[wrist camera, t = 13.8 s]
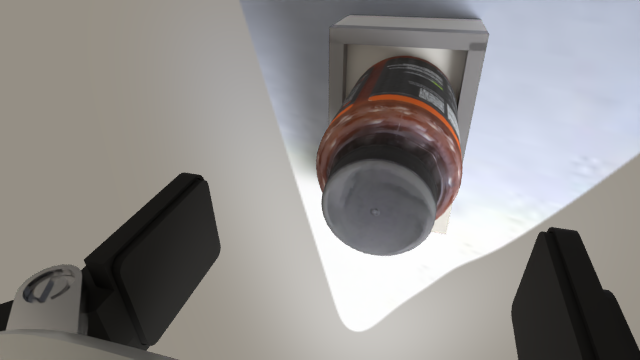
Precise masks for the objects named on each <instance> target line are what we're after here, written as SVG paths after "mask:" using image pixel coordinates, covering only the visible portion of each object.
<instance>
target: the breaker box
mask: <svg viewBox="0 0 640 360" xmlns="http://www.w3.org/2000/svg"><path fill="white" fill-rule="evenodd" d="M488 37H489V33H488V31H487V29H486V28H485V26H484V24H483V22H482V20H478V19H449V18H421V17H392V16H363V15H348V16H347V17H345V18H343V19H342V20H340V21H339V22H337V23H336V24H334V25H333V26H331V27H329V125H330V124H331V122H332V120H333V119H334V117H335V115H336V114H337V112H338V111H339V109H340V108H341V106H342V105H343V103H344V101H345V100H346V98H347V97H348V95H349V94H350V92H351V90H352V89H353V87H354V86H355V84H356V83H357V81H358V80H359V78H360V77H361V76H362V75H363V74H364V73H365V72H366V71H367V70H368V69H369V68H370V67H371V66H373V65H374V64H376V63H378V62H380V61H382V60H384V59H387V58H391V57H395V56H413V57H418V58H421V59H424V60H426V61H429V62H430V63H432V64H433V65H435V66H437V67H438V68H439V69H440V70H441V71H442V72H443V73H444V74H445V75H446V77H447V78H448V79H449V82H450V83H451V86H452V88H453V91H454V95H455V99H456V106H457V116H458V126H459V136H460V145H461V156H462V163H463V158H464V154H465V149H466V144H467V139H468V134H469V129H470V124H471V120H472V115H473V110H474V105H475V100H476V95H477V91H478V86H479V81H480V76H481V71H482V66H483V61H484V57H485V52H486V47H487V42H488ZM451 207H452V204H451V205H450V206H449V208H448V209H447V210H446V212H445V213H444V214H443V215H442V216H440V217H439V218H438V219H437V220H435V222H434V226H433V228H432V230H431V232H435V233H441V234H446V232H447V227H448V222H449V217H450V212H451Z"/></svg>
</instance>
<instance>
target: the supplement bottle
mask: <svg viewBox="0 0 640 360" xmlns="http://www.w3.org/2000/svg"><path fill="white" fill-rule="evenodd" d="M316 170H317V177H318V181H319V185H320V188H321V190H322V192H323V194H322V211H323V215H324V218H325V220H326V222H327V225H328V226H329V227H330V229H331V231H332V232H333V233H334V234H335V236H337V237H338V238H339V239H340V240H341V241H342V242H344V243H345V244H346V245H348V246H350V247H351V248H354V249H356V250H358V251H361V252H363V253H366V254H371V255H380V256H391V255H397V254H401V253H404V252H406V251H410V250H412V249H414V248H415V247H417V246H418V245H420V244H421V243H422V242H423V241H424V240H425V239H426V238H427V237H428V235H429V234H430V232H431V230H432V228H433V226H434V222H435V220H437V219H438V218H439V217H440V216H442V215H443V214H444V213H445V212H446V210H447V209H448V208H449V206H450V205H451V204H452V202H453V201H454V199H455V197H456V196H457V193H458V190H459V188H460V185H461V178H462V156H461V145H460V136H459V126H458V116H457V106H456V99H455V95H454V91H453V88H452V86H451V83H450V82H449V79H448V78H447V77H446V75H445V74H444V73H443V72H442V71H441V70H440V69H439V68H438V67H437V66H435V65H433V64H432V63H430V62H429V61H426V60H424V59H421V58H418V57H413V56H395V57H391V58H387V59H384V60H382V61H380V62H378V63H376V64H374V65H373V66H371V67H370V68H369V69H368V70H367V71H366V72H365V73H364V74H363V75H362V76H361V77H360V78H359V80H358V81H357V83H356V84H355V86H354V87H353V89H352V90H351V92H350V94H349V95H348V97H347V98H346V100H345V101H344V103H343V105H342V106H341V108H340V109H339V111H338V112H337V114H336V115H335V117H334V119H333V120H332V122H331V124H330V125H329V127H328V129H327V130H326V132H325V134H324V136H323V138H322V140H321V143H320V146H319V149H318V152H317V159H316Z"/></svg>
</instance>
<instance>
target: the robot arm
mask: <svg viewBox="0 0 640 360" xmlns="http://www.w3.org/2000/svg"><path fill="white" fill-rule="evenodd" d="M220 248H221V247H220V241H219V236H218V231H217V226H216V221H215V216H214V212H213V206H212V201H211V196H210V191H209V186H208V183H207V181H205V180H204V179H203V177H202V176H201V175H197V174H190V173H181V174H179V175H178V176H177V177H176V178H175V179H174V180H173V181H172V182H170V183H169V184H168V185H167V186H166V187H165V188H164V189H163V190H161V191H160V192H159V193H158V194H157V195H156V196H155V197H154V198H153V199H151V200H150V201H149V202H148V203H147V204H146V205H145V206H144V207H142V208H141V209H140V210H139V211H138V212H137V213H136V214H135V215H134V216H132V217H131V218H130V219H129V220H128V221H127V222H126V223H125V224H123V225H122V226H121V227H120V228H119V229H118V230H117V231H116V232H114V233H113V234H112V235H111V236H110V237H109V238H108V239H107V240H106V241H104V242H103V243H102V244H101V245H100V246H99V247H98V248H97V249H95V250H94V251H93V252H92V253H91V254H90V255H89V256H88V257H86V258H85V259H84V261H85V264H86V266H85V267H84V268H83V269H82V270H80V269H79V268H78V267H76V266H73V265H64V264H62V265H57V266H52V267H50V268H46V269H44V270H42V271H40V272H38V273H36V274H34V275H32V276H31V277H30V278H28V279H27V280H26V281H25V282H24V283H23V284H22V285H21V286H20V287H19V288H18V290H17V293H16V295H15V298H14V300H12V301H9V302H6V303H3V304H0V360H178V359H174V358H170V357H167V356H163V355H159V354H155V353H152V352H148V351H147V349H148V348H149V346H152V345H154V344H156V343H157V342H158V340H159V339H160V337H161V336H162V335H163V333H164V332H165V331H166V329H167V328H168V326H169V325H170V324H171V322H172V321H173V319H174V318H175V317H176V315H177V314H178V312H179V311H180V309H181V308H182V307H183V305H184V304H185V302H186V301H187V300H188V298H189V297H190V295H191V294H192V293H193V291H194V290H195V289H196V287H197V286H198V284H199V283H200V282H201V280H202V279H203V277H204V276H205V275H206V273H207V272H208V270H209V269H210V267H211V266H212V265H213V263H214V262H215V261H216V259H217V258H218V256H219V253H220ZM511 313H512V323H513V329H514V335H515V341H516V347H517V354H518V360H640V351H639V348H638V346H637V344H636V342H635V339H634V337H633V335H632V333H631V331H630V328H629V326H628V324H627V322H626V320H625V317H624V315H623V313H622V311H621V309H620V306H619V304H618V302H617V300H616V298H615V296H614V295H613V293H611V292H610V291H609V290H603V289H602V286H601V284H600V282H599V279H598V277H597V275H596V272H595V270H594V268H593V265H592V263H591V260H590V258H589V256H588V254H587V251H586V249H585V246H584V244H583V242H582V240H581V237H580V235H579V233H578V232H577V231H574V230H567V229H561V228H554V227H551V228H549V229H548V231H547V232H540V233H539V235H538V237H537V239H536V242H535V245H534V248H533V250H532V253H531V256H530V258H529V261H528V263H527V266H526V269H525V271H524V274H523V277H522V279H521V282H520V285H519V288H518V290H517V293H516V296H515V298H514V301H513V304H512V311H511Z"/></svg>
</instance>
